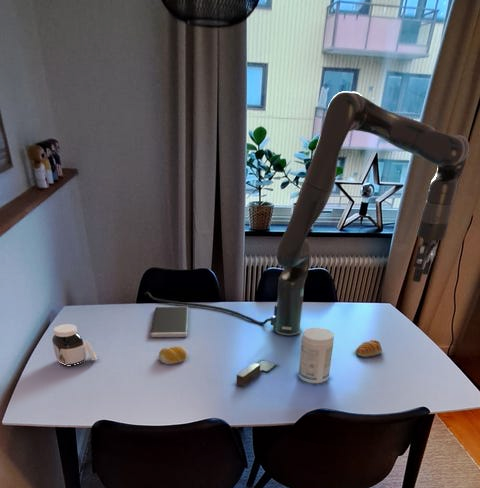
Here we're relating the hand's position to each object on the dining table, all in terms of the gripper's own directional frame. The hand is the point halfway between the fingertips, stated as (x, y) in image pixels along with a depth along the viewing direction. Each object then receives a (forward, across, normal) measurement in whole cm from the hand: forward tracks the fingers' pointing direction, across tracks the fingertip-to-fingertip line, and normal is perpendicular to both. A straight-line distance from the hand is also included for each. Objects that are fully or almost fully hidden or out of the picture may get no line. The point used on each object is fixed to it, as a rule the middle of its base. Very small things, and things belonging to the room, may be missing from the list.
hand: (420, 277), depth 143 cm
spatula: (+29, +35, -36) cm, 57 cm away
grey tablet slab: (+30, +18, -83) cm, 90 cm away
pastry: (+29, -1, -11) cm, 31 cm away
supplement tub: (+29, +26, -19) cm, 43 cm away
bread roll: (+29, +41, -64) cm, 81 cm away
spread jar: (+30, +60, -88) cm, 110 cm away
